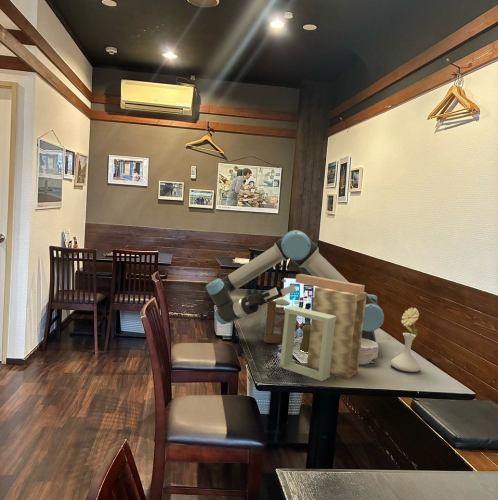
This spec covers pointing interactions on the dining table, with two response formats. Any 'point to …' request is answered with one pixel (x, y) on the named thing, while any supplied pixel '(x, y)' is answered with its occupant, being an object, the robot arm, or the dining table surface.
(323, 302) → the birch stand
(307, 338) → the cork
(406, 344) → the flower in vase
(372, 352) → the paper bowls
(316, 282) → the salmon orange bar
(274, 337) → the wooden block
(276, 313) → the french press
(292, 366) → the pale green rectangular frame
